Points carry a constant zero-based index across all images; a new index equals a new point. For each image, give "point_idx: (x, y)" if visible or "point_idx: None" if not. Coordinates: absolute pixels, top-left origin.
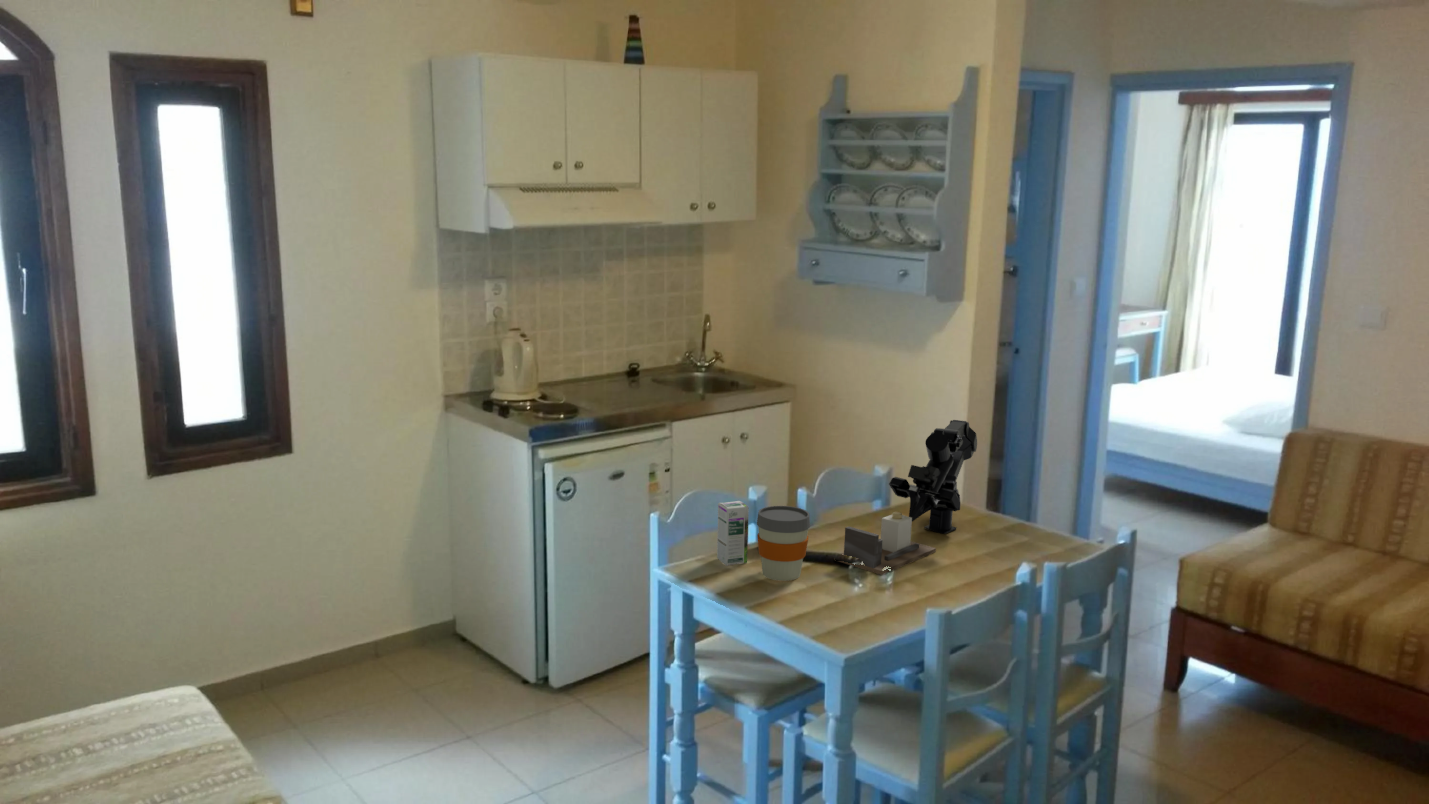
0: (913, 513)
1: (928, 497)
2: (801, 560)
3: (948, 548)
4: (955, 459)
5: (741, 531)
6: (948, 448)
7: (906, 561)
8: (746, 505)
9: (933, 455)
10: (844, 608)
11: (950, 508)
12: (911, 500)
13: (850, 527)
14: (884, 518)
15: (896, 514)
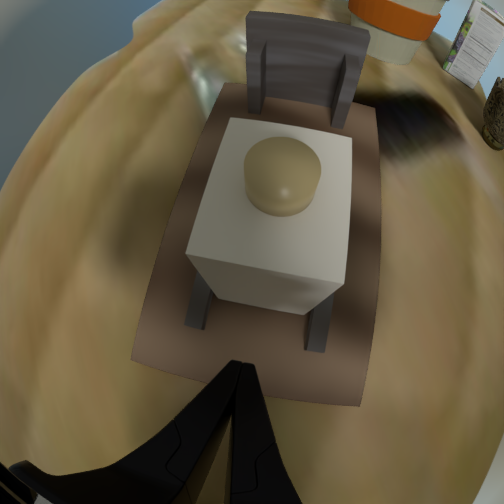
0: (221, 389)
1: (44, 472)
2: (353, 17)
3: (115, 422)
4: None
5: (461, 26)
6: None
7: (187, 169)
8: (480, 2)
9: None
10: (228, 9)
11: (13, 474)
12: (281, 494)
13: (359, 32)
14: (336, 138)
15: (275, 140)
